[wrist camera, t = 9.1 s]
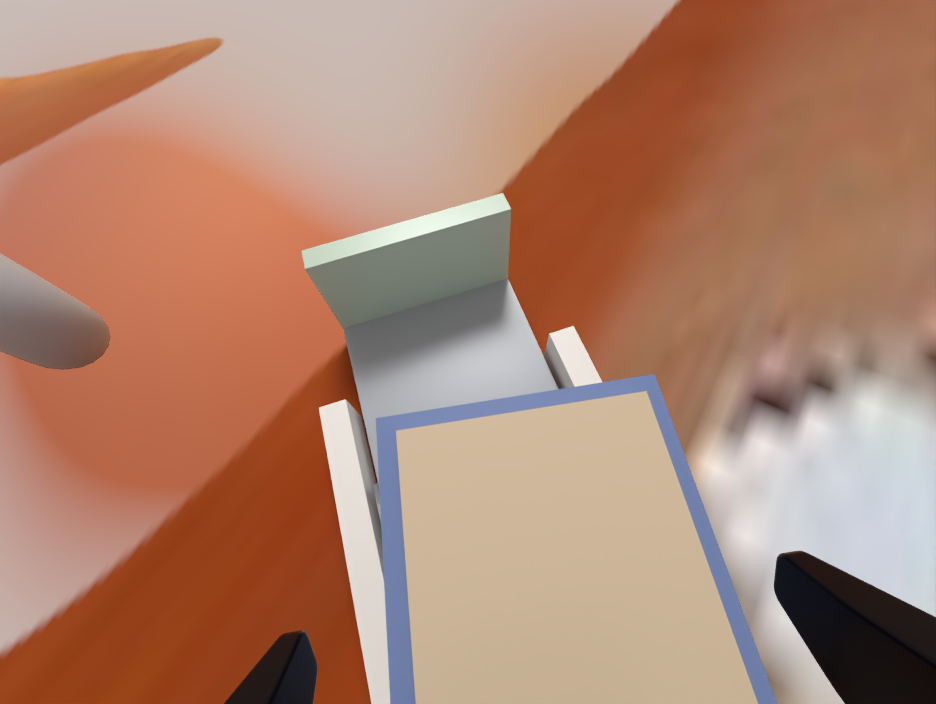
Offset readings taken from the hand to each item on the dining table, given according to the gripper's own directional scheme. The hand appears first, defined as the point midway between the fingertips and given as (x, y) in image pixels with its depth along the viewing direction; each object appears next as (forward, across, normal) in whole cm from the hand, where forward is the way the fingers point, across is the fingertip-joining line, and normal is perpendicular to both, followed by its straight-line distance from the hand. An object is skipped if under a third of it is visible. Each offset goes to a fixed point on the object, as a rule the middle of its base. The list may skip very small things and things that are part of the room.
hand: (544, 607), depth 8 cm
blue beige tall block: (+7, 0, +6) cm, 10 cm away
